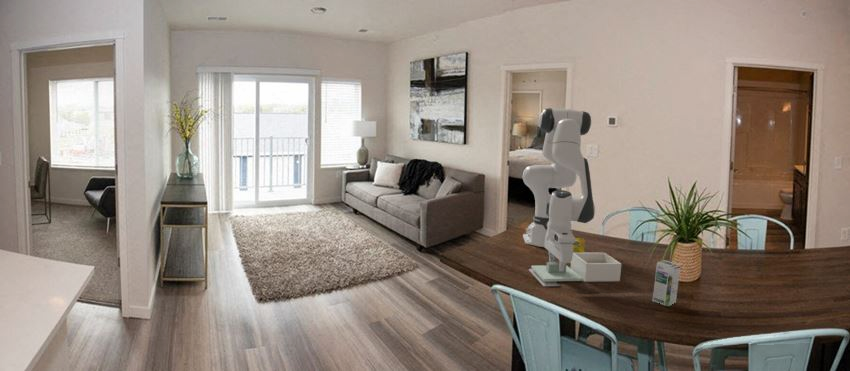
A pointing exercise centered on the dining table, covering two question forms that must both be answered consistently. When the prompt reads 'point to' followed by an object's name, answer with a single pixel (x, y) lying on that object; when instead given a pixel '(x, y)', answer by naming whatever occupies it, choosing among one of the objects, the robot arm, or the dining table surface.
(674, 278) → the syrup box
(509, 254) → the dining table surface
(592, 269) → the storage box
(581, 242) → the supplement box
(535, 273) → the rubber mat
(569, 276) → the lid
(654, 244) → the dining table surface
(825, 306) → the dining table surface
